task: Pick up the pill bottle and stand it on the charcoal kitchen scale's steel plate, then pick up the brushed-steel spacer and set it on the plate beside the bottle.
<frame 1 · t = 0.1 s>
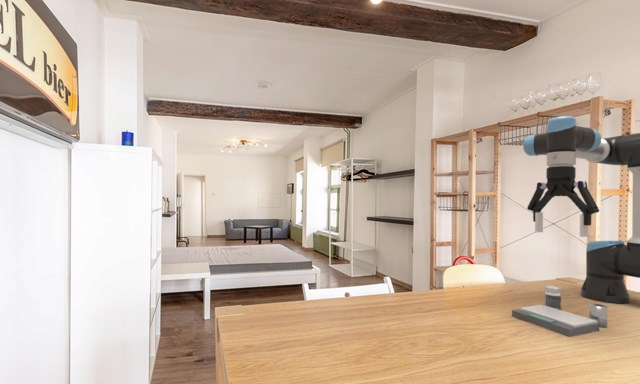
hand: (560, 234, 109), 28 cm above the table, fingers open, 13 cm apart
pill bottle: (552, 311, 121), on the table
steel spacer: (598, 325, 108), on the table
kitchen scale: (553, 323, 109), on the table
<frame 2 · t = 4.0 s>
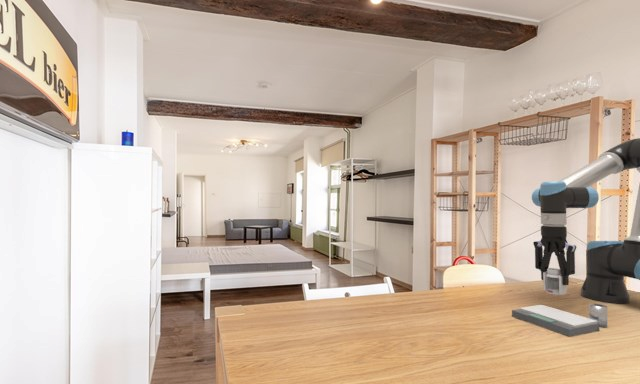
hand: (554, 292, 121), 7 cm above the table, fingers closed on pill bottle, 5 cm apart
pill bottle: (554, 293, 121), point 6 cm above the table, touching gripper
everything else where it was.
when the fingers open (3 cm above the table, at t = 7.6 s): pill bottle stays where it is, resting on kitchen scale.
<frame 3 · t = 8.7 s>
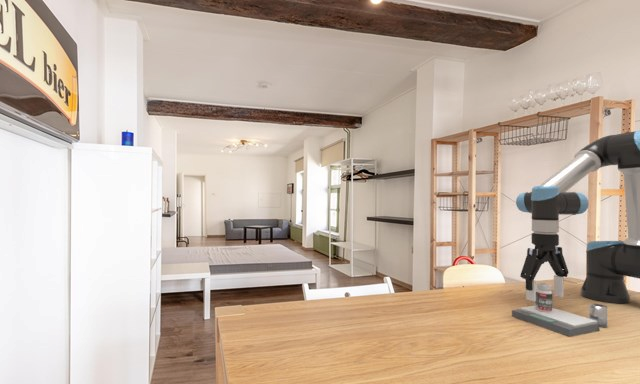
hand: (545, 298, 113), 7 cm above the table, fingers open, 13 cm apart
pill bottle: (543, 310, 113), point 2 cm above the table, touching kitchen scale
everything else where it was.
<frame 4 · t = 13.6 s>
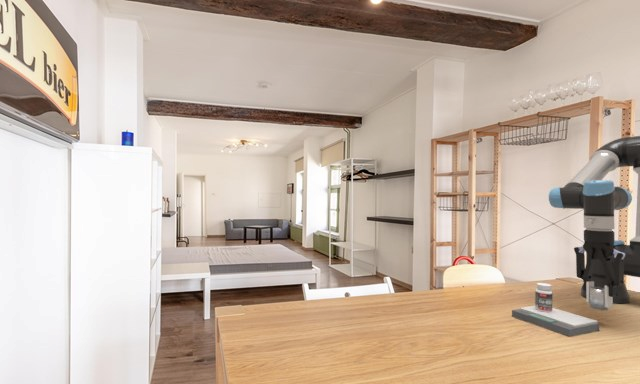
hand: (599, 304, 109), 6 cm above the table, fingers closed on steel spacer, 4 cm apart
steel spacer: (598, 307, 108), point 5 cm above the table, touching gripper
everything else where it was.
when the fingers open (3 cm above the table, at t = 17.0 s): steel spacer stays where it is, resting on kitchen scale.
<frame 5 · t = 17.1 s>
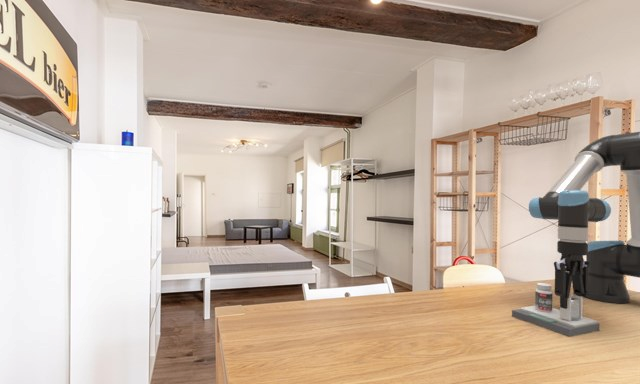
hand: (571, 317, 105), 3 cm above the table, fingers open, 5 cm apart
steel spacer: (570, 318, 106), point 3 cm above the table, touching gripper, kitchen scale
everything else where it was.
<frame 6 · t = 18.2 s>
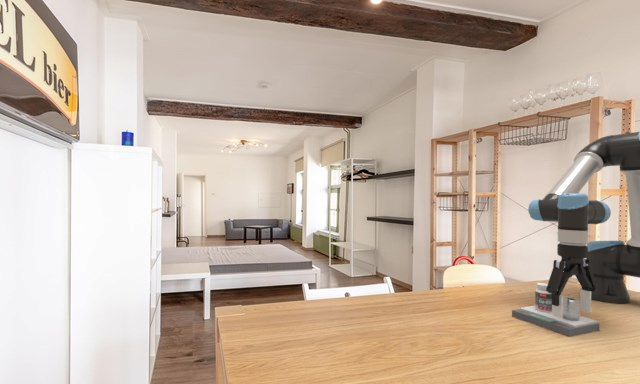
hand: (571, 314, 105), 4 cm above the table, fingers open, 13 cm apart
steel spacer: (570, 318, 106), point 3 cm above the table, touching kitchen scale
everything else where it was.
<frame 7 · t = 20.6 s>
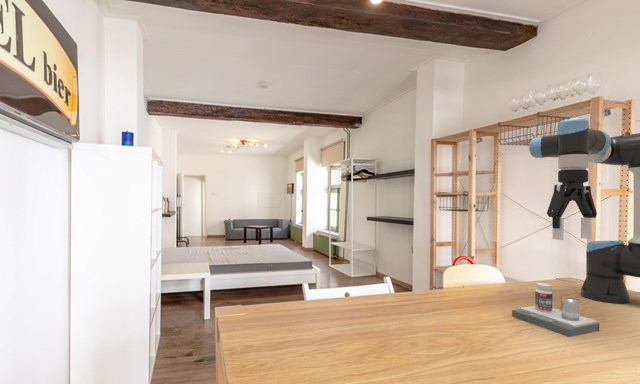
hand: (572, 239, 106), 27 cm above the table, fingers open, 13 cm apart
nothing on the table moved.
at the end: pill bottle inside the target area on the kitchen scale (4.2 cm from its centre), point 2.4 cm above the kitchen scale's base; pill bottle tilted 0°; steel spacer inside the target area on the kitchen scale (4.2 cm from its centre), point 2.6 cm above the kitchen scale's base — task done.
